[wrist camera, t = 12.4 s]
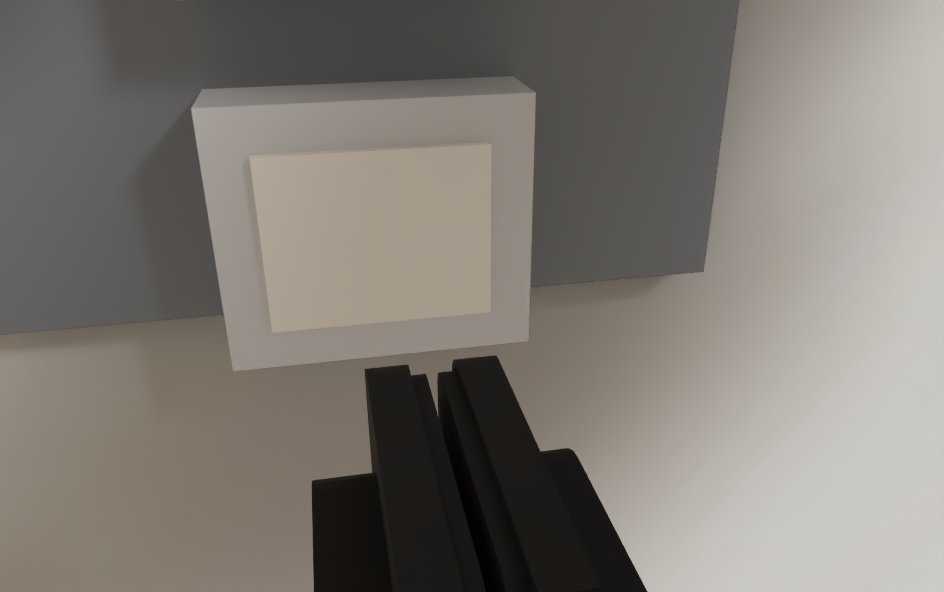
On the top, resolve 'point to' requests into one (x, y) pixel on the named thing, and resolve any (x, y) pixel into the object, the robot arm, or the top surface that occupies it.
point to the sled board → (350, 163)
